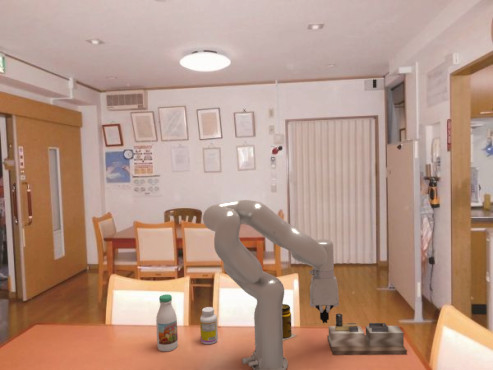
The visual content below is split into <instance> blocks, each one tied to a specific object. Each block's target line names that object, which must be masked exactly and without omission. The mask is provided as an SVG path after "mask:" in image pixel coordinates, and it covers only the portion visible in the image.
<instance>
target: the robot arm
mask: <svg viewBox="0 0 493 370" xmlns="http://www.w3.org/2000/svg"><path fill="white" fill-rule="evenodd" d="M202 222H203V224H204V226H205V228H207V229H208V230H210V231H213V232H214V240H213V247H214V250H215V253H216V255H217V257H218V258H219V259H220V260H221V262H222V263H223V265H222V266H223V270H224V271H225V273H226V274H227V276H228V277H230V279H232V281H234V282H235V283H236V285H238V286H239V288H241V289H242V290H243V291H244V292H245V293H247V294H248V295H249V296H251V297H252V298H254V299H255V300H256V304H255V308H254V313H253V315H254V317H253V321H254V322H253V323H254V351H252V355H251V354H250V356H248V357H243V358H242V359H241V363H242V365H248V367H251V369H252V370H287V368H288V366H289V362H288V359H287V358H286V357H285V356H284V340H283V330H282V304H284V303H283V302H284V297H285V286H284V284H283V283H282V280H280V279H279V278H278V277H276V276H275V275H273V274H270V273H269V272H266V271H264V270H263V267H262V264H261V262H260V261H259V259H258V258H257V257H256V256H255V255H254V254H253V253H252V252H251V251H250V250H249V249H248V248H247V247H246V246H245V244H243V242H242V241H241V239H240V230H241V225H245V226H249V227H251V228H252V229H253V230H255V231H256V232H258V233H259V234H261V235H262V236H263V237H265V238H266V239H267V240H268V241H270V242H271V243H272V244H275V245H276V246H278V247H280V248H283V249H285V250H288V251H290V254H291V257H292V258H293V259H294V260H295V261H297V262H300V263H301V264H305V265H308V266H310V267H312V269H311V270H308V274H309V275H311V279H310V284H309V285H310V286H309V299H310V301H309V307H311V308H316V309H317V310H318V311H319V319H320V321H322V324H325V323H326V324H328V321H330V320H329V319H330V318H329V317H330V316H329V314H330V311H331V310H332V309H333V308H336V307H339V306H340V302H339V301H340V300H339V287H338V285H339V284H338V279H337V277H336V276H335V271H334V269H335V267H334V265H335V264H334V262H335V260H334V243H333V241H332V240H330V239H323V238H321V239H316V240H315V239H314V238H313V237H311V236H310V235H308V234H307V233H305V232H304V231H302V230H300V229H298V228H296V227H295V226H293V225H292V224H290V223H288V222H287V221H286V220H284V219H283V218H282V217H281V216H279V215H278V214H277V213H275V212H274V211H273V210H272V209H270V208H269V207H268V206H266V204H264V203H262V202H260V201H256V200H251V199H242V200H236V201H231V202H230V201H229V202H225V203H219V204H214V205H211V206H209V207H208V208H206V209H205V210H204V213H203V215H202ZM323 306H324V307H323Z"/></svg>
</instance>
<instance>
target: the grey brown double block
mask: <svg viewBox="0 0 493 370" xmlns="http://www.w3.org/2000/svg"><path fill="white" fill-rule="evenodd" d="M357 326H358V332H350V330H335V325H331V326H329V325H328V335H327V337H326V338H327V342H328V345H329V347H330V351H331V353H332V355H333V356H351V355H352V356H356V355H357V356H359V355H360V356H361V355H363V356H364V355H365V356H366V355H367V356H369V355H370V356H373V355H377V356H379V355H382V356H383V355H407V354H408V352H407V349H406V347H405V345H404V341H405V340H404V339H405V338H404V337H405V335H404V331H403V330H402V329H401V328H400V326H399V325H387V326H388V332H387V331H386V332H372V328H369V325H366V326H365V332H364V329H363V328H362V327H361V325H357Z"/></svg>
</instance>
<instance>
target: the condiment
mask: <svg viewBox="0 0 493 370" xmlns="http://www.w3.org/2000/svg"><path fill="white" fill-rule="evenodd" d="M282 330H283V341H285V340H288V339H292V338H294V337H296V336H297V335H296V334H294V333H292V312H291V306H290V305H289V304H287V303H286V304H285V303H283V304H282Z"/></svg>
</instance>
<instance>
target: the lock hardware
mask: <svg viewBox="0 0 493 370" xmlns="http://www.w3.org/2000/svg"><path fill="white" fill-rule="evenodd" d="M347 324H357V323H356V322H355V323H354V322H349V323H347ZM368 326H369V328H372V332H386V331H387V332H388V326H389V325H387V323H386V322H369V323H368ZM350 332H358V327H350Z"/></svg>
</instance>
